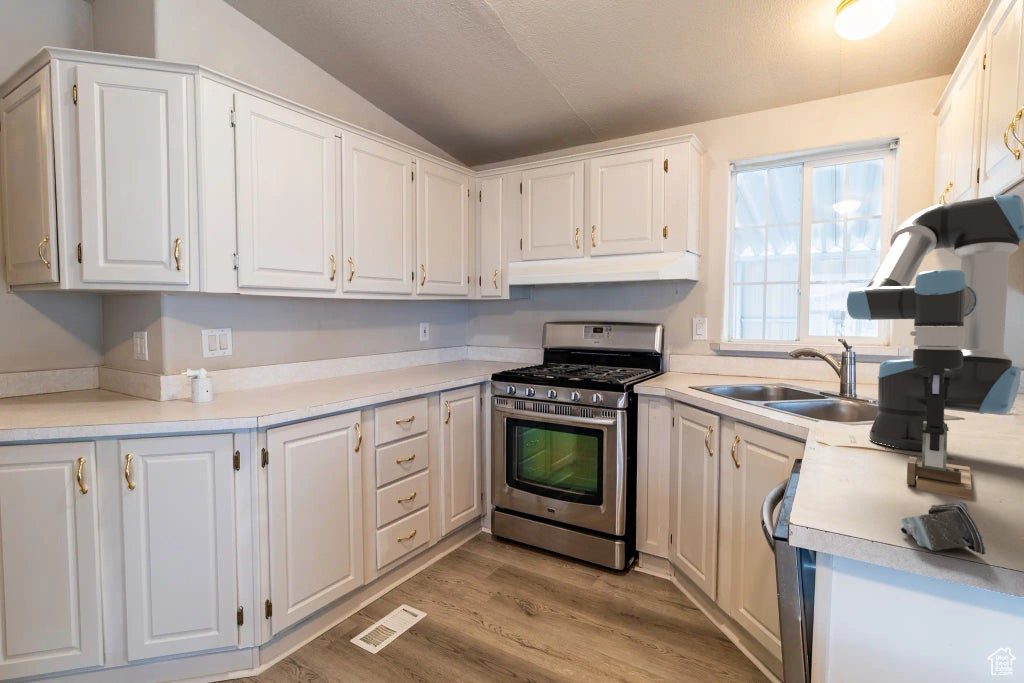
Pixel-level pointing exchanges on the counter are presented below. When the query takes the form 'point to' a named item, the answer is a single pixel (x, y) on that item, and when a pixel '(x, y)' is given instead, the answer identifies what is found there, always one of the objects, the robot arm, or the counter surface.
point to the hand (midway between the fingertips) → (934, 464)
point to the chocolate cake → (945, 528)
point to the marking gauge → (931, 471)
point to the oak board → (948, 483)
